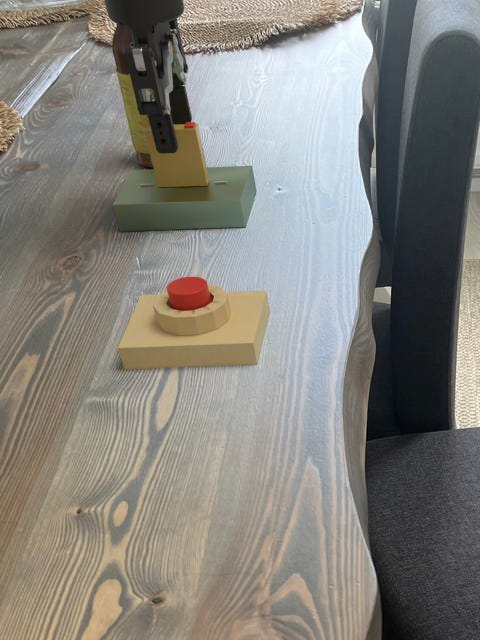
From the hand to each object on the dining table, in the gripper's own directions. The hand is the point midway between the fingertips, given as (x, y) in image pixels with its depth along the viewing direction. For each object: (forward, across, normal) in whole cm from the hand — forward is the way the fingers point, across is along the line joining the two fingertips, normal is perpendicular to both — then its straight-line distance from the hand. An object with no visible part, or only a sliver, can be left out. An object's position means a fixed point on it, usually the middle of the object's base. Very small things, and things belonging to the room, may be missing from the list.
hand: (175, 137), depth 109 cm
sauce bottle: (+8, -16, -6) cm, 19 cm away
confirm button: (+4, +30, +6) cm, 31 cm away
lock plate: (+8, 0, 0) cm, 8 cm away
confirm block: (+8, +30, +6) cm, 31 cm away
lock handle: (+5, 0, 0) cm, 5 cm away
